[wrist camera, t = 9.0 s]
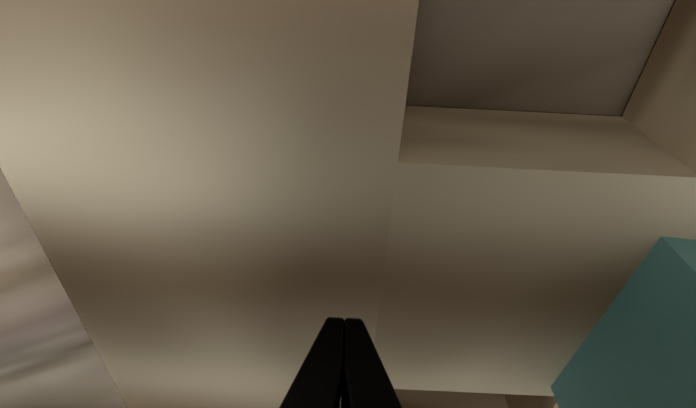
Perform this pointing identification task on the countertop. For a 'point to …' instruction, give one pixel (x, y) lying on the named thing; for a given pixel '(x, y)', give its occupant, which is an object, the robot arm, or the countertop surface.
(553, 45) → the countertop surface
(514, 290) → the wooden tray
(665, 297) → the block
